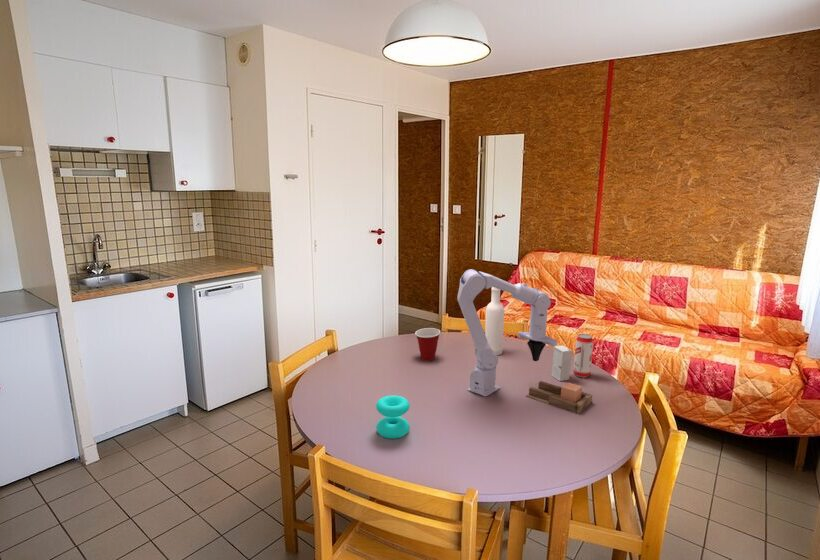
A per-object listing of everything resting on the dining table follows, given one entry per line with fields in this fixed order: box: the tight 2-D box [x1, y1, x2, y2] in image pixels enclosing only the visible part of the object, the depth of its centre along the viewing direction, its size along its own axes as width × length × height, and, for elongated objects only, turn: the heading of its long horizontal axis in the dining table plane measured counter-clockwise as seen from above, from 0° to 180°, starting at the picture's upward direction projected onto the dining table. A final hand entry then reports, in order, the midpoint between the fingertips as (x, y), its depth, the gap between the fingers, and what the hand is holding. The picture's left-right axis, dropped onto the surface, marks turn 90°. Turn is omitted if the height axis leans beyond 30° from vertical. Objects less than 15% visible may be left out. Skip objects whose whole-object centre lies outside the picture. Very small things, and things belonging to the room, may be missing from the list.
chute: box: [525, 380, 593, 415], centre depth 164 cm, size 11×19×3 cm, turn 48°
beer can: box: [573, 333, 594, 379], centre depth 183 cm, size 6×6×16 cm
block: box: [560, 382, 583, 403], centre depth 160 cm, size 5×5×6 cm
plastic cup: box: [414, 327, 441, 361], centre depth 200 cm, size 11×11×12 cm
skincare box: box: [551, 344, 573, 382], centre depth 181 cm, size 6×4×12 cm
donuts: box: [375, 394, 410, 439], centre depth 142 cm, size 10×10×10 cm
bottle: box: [484, 287, 505, 356], centre depth 205 cm, size 8×8×30 cm
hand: (535, 360), depth 172 cm, fingers closed
